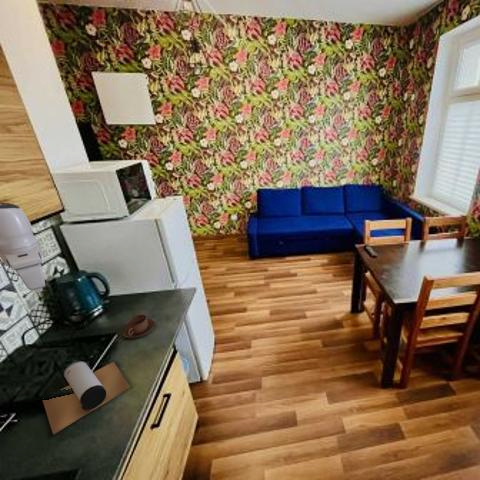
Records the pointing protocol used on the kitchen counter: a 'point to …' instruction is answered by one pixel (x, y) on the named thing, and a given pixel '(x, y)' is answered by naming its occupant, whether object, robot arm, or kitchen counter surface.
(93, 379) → the travel mug
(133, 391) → the kitchen counter surface
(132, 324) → the cup and saucer
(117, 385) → the cork mat
